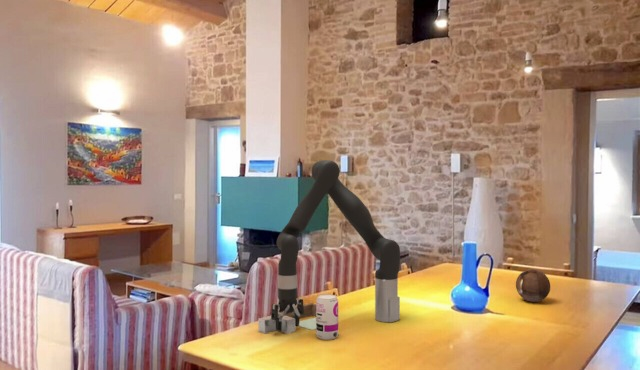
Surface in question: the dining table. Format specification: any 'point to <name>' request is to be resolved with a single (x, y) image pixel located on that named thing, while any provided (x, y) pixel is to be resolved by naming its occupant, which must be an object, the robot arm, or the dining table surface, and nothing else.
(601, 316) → the dining table surface
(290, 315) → the brown wooden corner wall
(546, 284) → the wooden sphere
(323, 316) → the supplement can
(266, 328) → the bracket
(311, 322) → the pad
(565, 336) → the dining table surface
